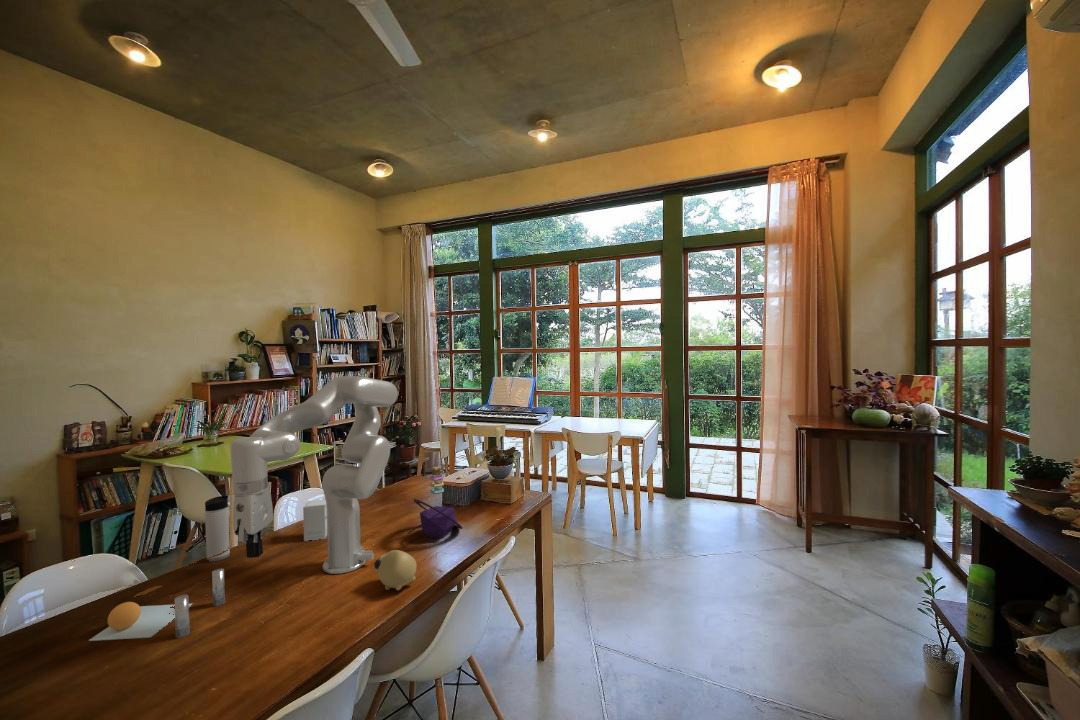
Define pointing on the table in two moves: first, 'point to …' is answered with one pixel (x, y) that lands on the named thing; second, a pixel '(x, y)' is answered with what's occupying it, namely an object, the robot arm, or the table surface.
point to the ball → (124, 615)
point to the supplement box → (315, 520)
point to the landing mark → (141, 624)
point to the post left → (182, 616)
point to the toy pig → (395, 569)
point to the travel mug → (217, 528)
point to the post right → (218, 587)
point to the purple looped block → (437, 512)
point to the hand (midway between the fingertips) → (254, 555)
